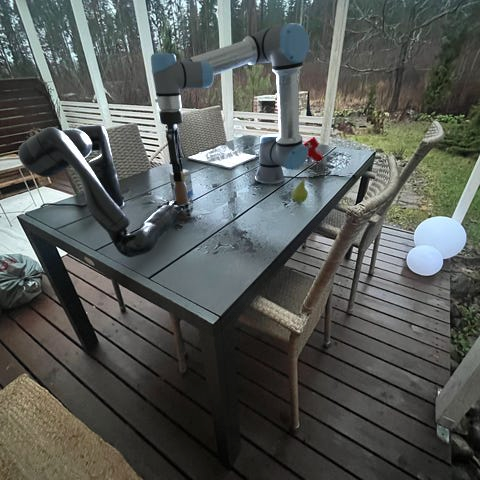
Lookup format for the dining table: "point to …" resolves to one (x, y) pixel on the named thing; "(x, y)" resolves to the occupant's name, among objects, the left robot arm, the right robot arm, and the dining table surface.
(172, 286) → the dining table surface
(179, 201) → the bottle
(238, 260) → the dining table surface
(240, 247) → the dining table surface
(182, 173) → the cap
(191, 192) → the ink box
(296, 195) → the fruit
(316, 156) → the toy gun
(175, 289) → the dining table surface
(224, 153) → the relief map
